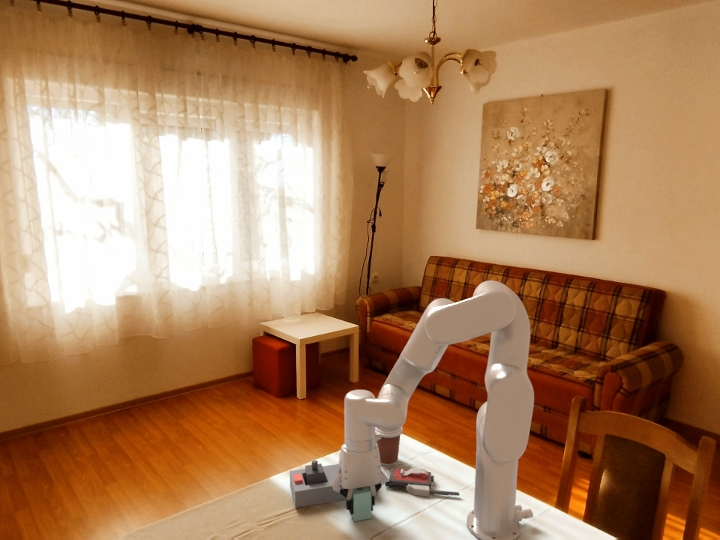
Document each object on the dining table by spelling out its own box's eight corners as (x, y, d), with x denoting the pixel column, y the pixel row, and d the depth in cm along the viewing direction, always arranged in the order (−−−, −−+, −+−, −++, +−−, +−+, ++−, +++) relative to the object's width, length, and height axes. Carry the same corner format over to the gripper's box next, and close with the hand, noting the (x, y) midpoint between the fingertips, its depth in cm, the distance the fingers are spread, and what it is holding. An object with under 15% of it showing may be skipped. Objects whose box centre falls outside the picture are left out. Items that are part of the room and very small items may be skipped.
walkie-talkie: (383, 494, 137) (459, 501, 134) (383, 478, 136) (459, 486, 133) (387, 476, 146) (458, 482, 143) (387, 461, 145) (458, 468, 142)
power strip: (367, 474, 146) (367, 445, 144) (377, 494, 136) (377, 463, 135) (290, 486, 140) (289, 455, 138) (295, 507, 130) (294, 475, 129)
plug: (366, 507, 130) (366, 474, 129) (371, 518, 126) (371, 484, 125) (349, 510, 129) (349, 477, 128) (354, 521, 125) (353, 487, 123)
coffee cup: (369, 453, 157) (369, 417, 155) (398, 451, 159) (398, 415, 157) (375, 469, 148) (375, 431, 146) (405, 466, 150) (406, 428, 148)
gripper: (387, 430, 130) (387, 495, 133) (323, 438, 126) (324, 506, 129) (397, 443, 123) (397, 513, 126) (329, 453, 119) (330, 525, 122)
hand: (360, 509), depth 127 cm, fingers closed on plug, 4 cm apart
